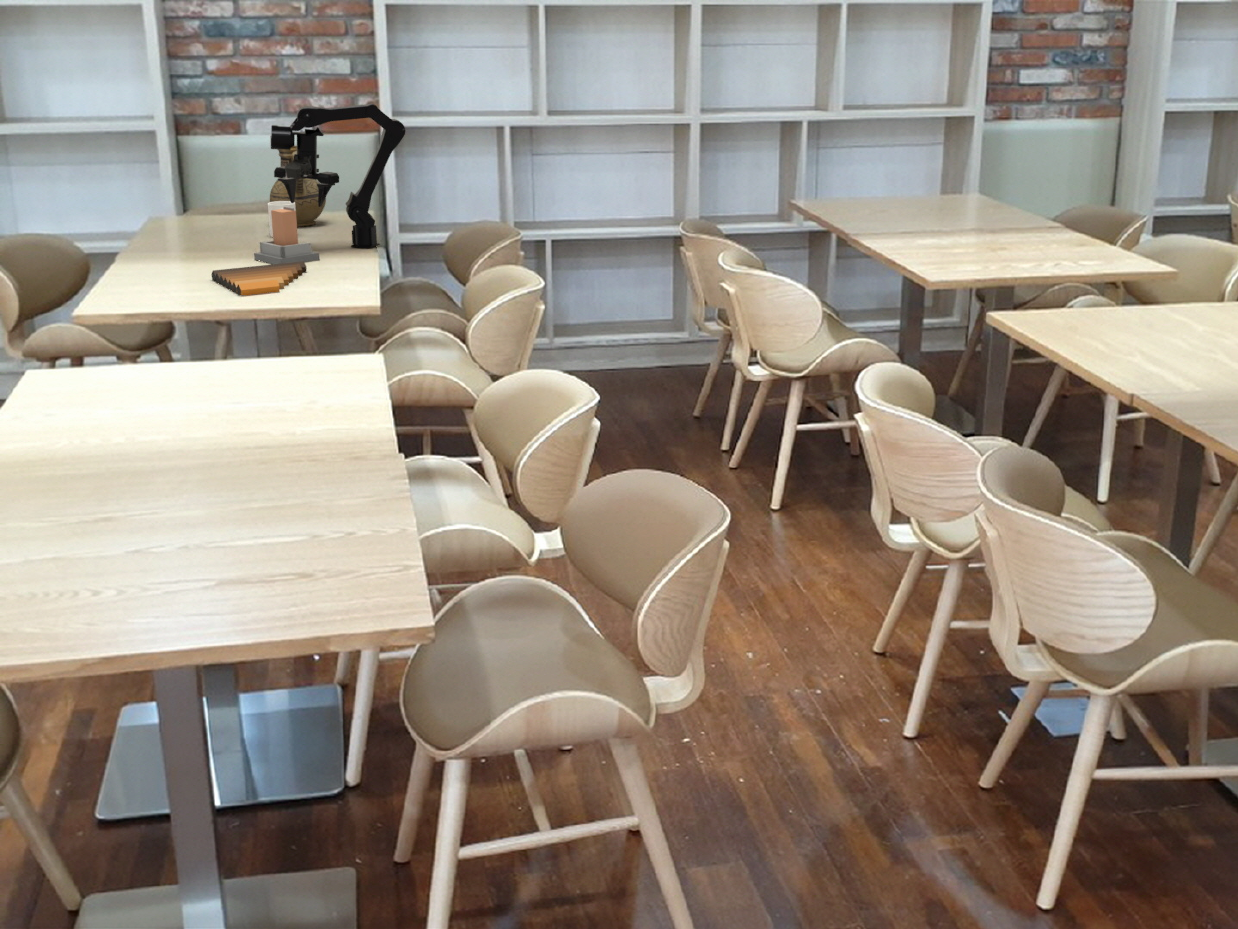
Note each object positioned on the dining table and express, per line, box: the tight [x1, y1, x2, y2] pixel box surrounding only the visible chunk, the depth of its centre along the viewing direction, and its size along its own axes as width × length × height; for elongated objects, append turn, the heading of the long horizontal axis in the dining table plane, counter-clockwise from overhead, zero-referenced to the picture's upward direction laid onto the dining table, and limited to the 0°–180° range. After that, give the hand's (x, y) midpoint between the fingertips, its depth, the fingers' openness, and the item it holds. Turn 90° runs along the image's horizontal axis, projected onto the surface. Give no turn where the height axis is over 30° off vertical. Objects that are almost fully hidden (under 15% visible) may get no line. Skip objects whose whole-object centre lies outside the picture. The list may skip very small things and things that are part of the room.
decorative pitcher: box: [269, 145, 327, 227], centre depth 459 cm, size 22×18×25 cm
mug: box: [267, 201, 296, 238], centre depth 439 cm, size 12×8×10 cm
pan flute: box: [210, 261, 307, 296], centre depth 373 cm, size 25×3×25 cm
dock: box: [253, 240, 320, 265], centre depth 403 cm, size 13×13×5 cm
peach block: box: [271, 207, 299, 246], centre depth 401 cm, size 4×6×13 cm
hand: (306, 204), depth 417 cm, fingers open, 9 cm apart
